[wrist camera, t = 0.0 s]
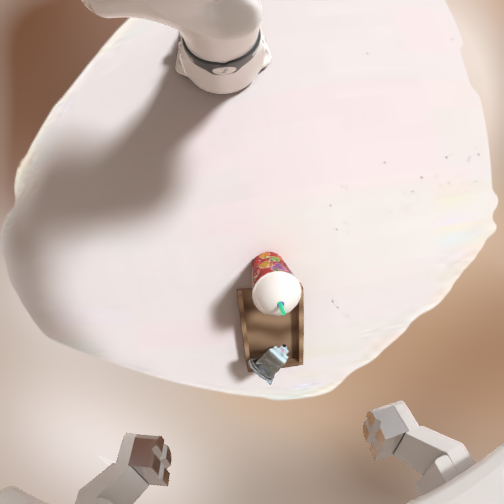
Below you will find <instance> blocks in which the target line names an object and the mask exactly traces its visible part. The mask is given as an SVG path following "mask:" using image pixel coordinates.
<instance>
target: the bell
mask: <svg viewBox="0 0 504 504" xmlns="http://www.w3.org/2000/svg"><path fill="white" fill-rule="evenodd" d="M288 352H289V350H287V346H286V345H285V344H283V345H282V346H280V347H279V348H277V346H274V347H273V348H271V349H268V350H267V351H266V352H265V353H264V354H263V355H262V356H261V357H258V358H254V359H251V360H248V364H249V365H250V367H251V368H252V369H253V371H254V372H255V373H256V374H258V376H259V377H261V378H263V379H265V380H266V381H267V382H268V383H269V384H270V385H271V384H272V381H273V378H274V375H275V373H276V372H277V371H278V370H279V369H280V368H281V367H282V366H284V364H285V363H286V361H287V359H288V356H286V355H287V354H288Z"/></svg>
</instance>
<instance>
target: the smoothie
mask: <svg viewBox="0 0 504 504" xmlns="http://www.w3.org/2000/svg"><path fill="white" fill-rule="evenodd" d="M252 289H253V292H252V299H253V302H254V305H255V306H256V307H257V308H258V310H260V311H261V312H263V313H264V314H268V315H272V316H281V315H285V314H287V313H289V312H290V311H292V310H293V309H294V307H295V306H296V305H297V304H298V302H299V300H300V298H301V292H302V290H301V286H300V283H299V282H298V280H297V278H296V277H294V275H293V274H292V272H291V271H290V270H289V268H288V267H287V265H286V264H285V262H284V261H283V260H282V258H281V257H280V256H279V255H278V254H276V253H273V252H265V253H262V254H260V255H259V256H257V257H256V258H255V260H254V261H253V264H252Z"/></svg>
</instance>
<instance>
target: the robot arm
mask: <svg viewBox="0 0 504 504" xmlns="http://www.w3.org/2000/svg"><path fill="white" fill-rule="evenodd" d="M82 2H83V3H84V5H85V6H86V7H87V8H88V9H89V10H90V11H92V12H93V13H95V14H97V15H99V16H101V17H104V18H117V17H132V18H142V19H148V20H152V21H156V22H159V23H162V24H165V25H168V26H170V27H173V28H175V29H177V30H178V31H179V36H181V40H180V42H179V44H178V48H179V50H178V55H177V60H176V66H175V69H176V71H177V72H178V73H179V74H181V75H184V76H187V77H188V78H190V79H191V80H192V81H193V82H194V84H196V85H197V86H198V87H199V88H201V89H203V90H205V91H207V92H211V93H216V94H228V93H233V92H236V91H239V90H241V89H243V88H245V87H246V86H248V85H249V84H250V83H251V82H252V81H253V80H254V79H255V78H256V76H257V74H258V73H259V71H260V70H261V69H263V68H264V67H266V66H267V65H269V64H270V63H271V61H272V57H271V54H270V51H269V49H268V46H267V43H266V41H265V38H264V36H263V33H262V31H261V28H260V25H261V21H262V16H263V10H262V6H261V3H260V1H259V0H82ZM265 54H266V55H265ZM363 433H364V437H365V439H366V441H367V442H369V443H370V444H371V447H370V451H371V453H372V456H373V458H374V460H379V459H382V458H384V457H387V456H390V455H393V456H394V457H396V458H397V459H399V460H400V461H402V462H403V463H405V464H406V465H408V466H410V467H411V468H412V469H414V470H416V471H417V472H419V473H420V474H422V476H421V477H420V478H419V480H418V481H417V482H416V483H415V485H414V486H415V488H416V490H417V493H418V494H419V497H418V498H416V499H414V500H412V501H410V502H408V503H405V504H504V442H503V443H502V444H501V445H499V446H498V447H497V448H496V449H494V450H493V451H492V452H491V453H489V454H488V455H487V456H485V457H484V458H483V459H481V460H480V461H478V462H477V463H476V464H475V462H474V461H473V459H472V457H471V456H470V454H469V452H468V451H467V449H466V448H465V446H464V445H463V443H461V442H458V441H456V440H453V439H451V438H449V437H446V436H444V435H442V434H440V433H437V432H435V431H433V430H431V429H429V428H426V427H424V426H420V427H419V425H418V423H417V422H416V420H415V419H414V417H413V416H412V414H411V412H410V411H409V409H408V407H407V406H406V404H405V403H404V402H403V401H398V402H395V403H392V404H388V405H386V406H383V407H380V408H377V409H374V410H371V411H369V412H368V413H367V420H366V421H365V422H364V425H363ZM170 465H171V452H170V449H169V447H168V446H167V445H165V444H164V439H163V438H162V436H151V435H139V434H131V433H126V434H125V435H124V437H123V440H122V444H121V447H120V451H119V454H118V458H117V462H116V463H112V464H111V465H110V466H109V467H108V468H107V469H105V470H104V471H103V472H102V473H100V474H99V475H98V476H97V477H95V478H94V479H93V480H92V481H90V482H89V483H88V484H87V485H85V486H84V487H83V488H81V489H80V490H79V492H78V495H77V499H76V502H75V504H133V503H134V502H135V501H136V500H137V499H138V498H139V497H140V495H141V494H142V493H143V492H144V491H145V490H146V489H147V487H148V486H149V485H148V484H150V485H160V486H168V482H169V475H170V473H169V472H168V471H167V468H168V467H169V466H170ZM0 504H47V503H46V502H43V501H41V500H39V499H37V498H35V497H33V496H31V495H29V494H28V493H26V492H24V491H22V490H20V489H19V488H17V487H14V486H9V487H6V488H4V489H2V490H0Z"/></svg>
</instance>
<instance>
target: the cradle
mask: <svg viewBox="0 0 504 504" xmlns="http://www.w3.org/2000/svg"><path fill="white" fill-rule="evenodd" d="M299 283H300V282H299ZM300 286H301V290H302V292H301V298H300V300H299V302H298V304H297V305H296V306H295V307H294V309H293V310H292V311H290V312H289V313H287V314H285V315H281V316H272V315H268V314H264V313H263V312H261V311H260V310H258V308H257V307H256V306H255V305H254V302H253V299H252V292H253V289H252V288H249V289H240V290H237V296H238V304H239V311H240V319H241V326H242V334H243V341H244V348H245V355H246V362H247V369H248V372H254V371H253V369H252V368H251V367H250V365H249V364H248V360H251V359H254V358H258V357H261V356H262V355H263V354H264V353H265V352H266V351H267V350H268V349H271V348H273V347H274V346H277V348H279V347H280V346H282V345H283V344H285V345H286V346H287V350H289V352H288V354H287V355H286V356H288V359H287V361H286V363H285V364H284V366H282V367H281V368H285V367H292V366H298V365H303V336H304V307H303V287H302V285H301V283H300Z"/></svg>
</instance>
